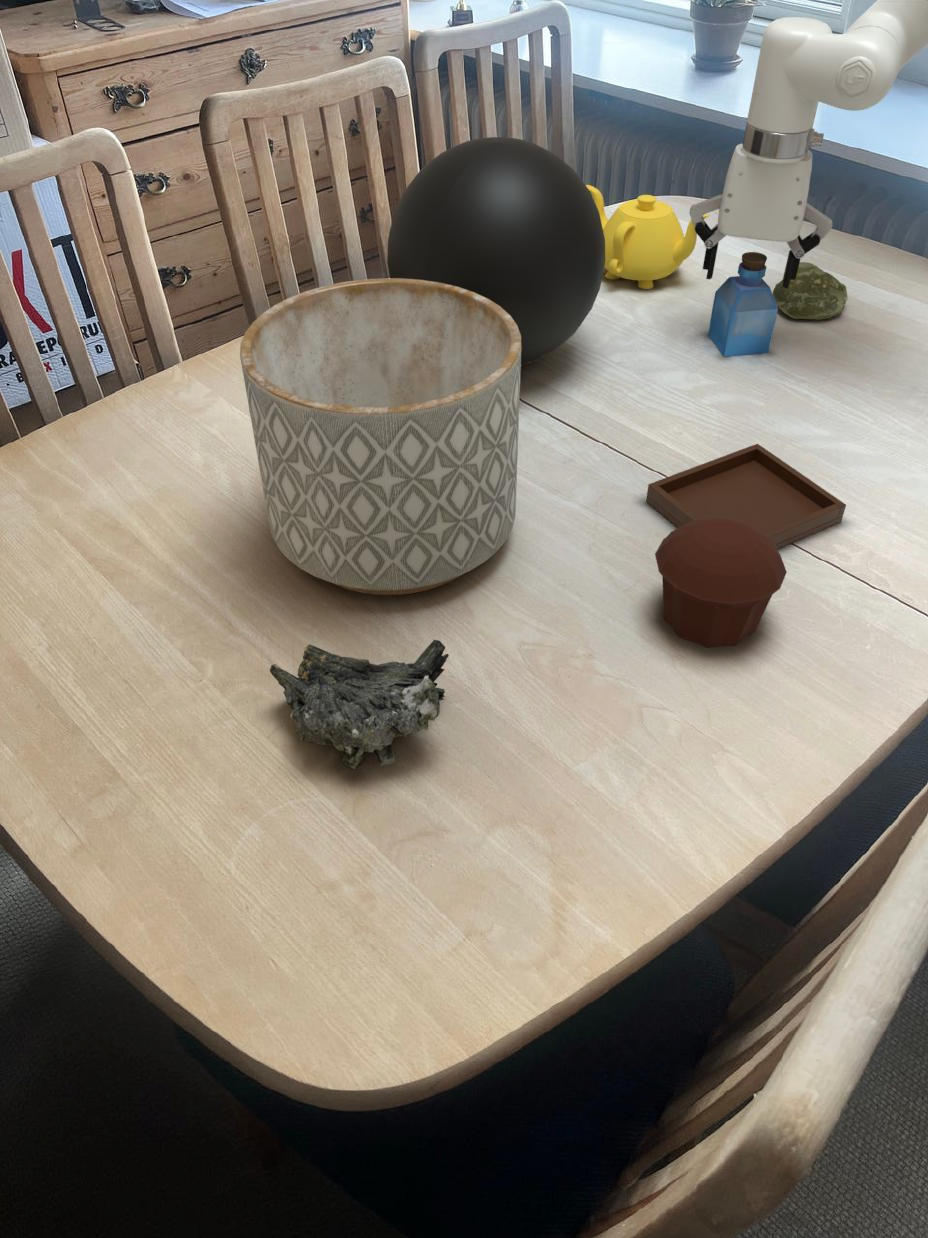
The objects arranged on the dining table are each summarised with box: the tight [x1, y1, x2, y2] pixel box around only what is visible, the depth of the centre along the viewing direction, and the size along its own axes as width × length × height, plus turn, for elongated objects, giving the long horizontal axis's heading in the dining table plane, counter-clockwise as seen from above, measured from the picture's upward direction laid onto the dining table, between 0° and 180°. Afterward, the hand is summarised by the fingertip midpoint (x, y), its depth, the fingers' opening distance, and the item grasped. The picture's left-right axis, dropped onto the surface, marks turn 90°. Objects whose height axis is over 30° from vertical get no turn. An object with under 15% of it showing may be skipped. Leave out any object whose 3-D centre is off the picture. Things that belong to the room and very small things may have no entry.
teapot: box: [585, 184, 710, 290], centre depth 148 cm, size 20×15×12 cm
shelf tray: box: [645, 443, 847, 550], centre depth 108 cm, size 16×14×2 cm
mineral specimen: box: [269, 639, 450, 770], centre depth 85 cm, size 15×13×10 cm
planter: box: [239, 277, 522, 596], centre depth 99 cm, size 26×26×22 cm
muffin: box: [654, 517, 788, 648], centre depth 94 cm, size 12×11×10 cm
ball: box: [386, 136, 605, 367], centre depth 125 cm, size 27×27×27 cm
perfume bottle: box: [707, 251, 779, 358], centre depth 133 cm, size 6×6×12 cm
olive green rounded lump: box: [772, 261, 849, 321], centre depth 144 cm, size 10×7×10 cm
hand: (747, 279), depth 131 cm, fingers open, 9 cm apart
